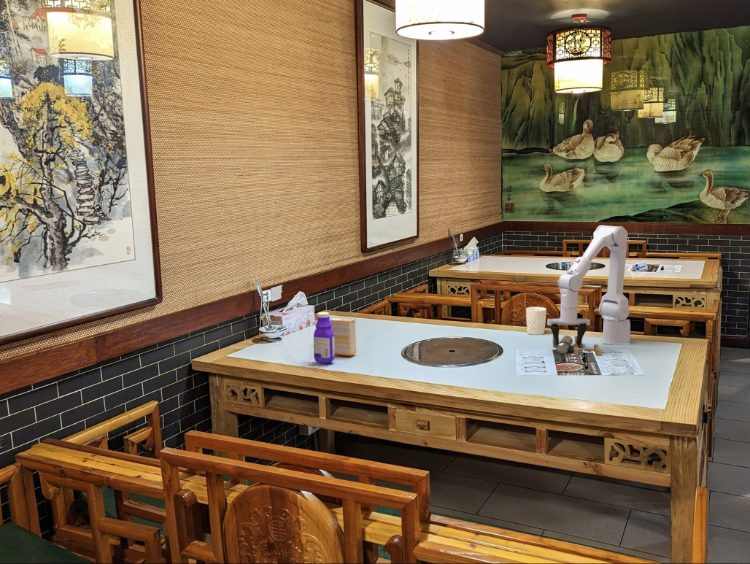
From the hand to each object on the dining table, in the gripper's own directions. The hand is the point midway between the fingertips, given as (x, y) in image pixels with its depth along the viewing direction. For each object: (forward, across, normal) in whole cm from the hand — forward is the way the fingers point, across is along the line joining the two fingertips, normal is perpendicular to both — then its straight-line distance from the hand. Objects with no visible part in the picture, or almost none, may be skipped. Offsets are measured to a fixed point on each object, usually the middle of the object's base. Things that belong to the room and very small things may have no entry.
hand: (567, 344), depth 240 cm
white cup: (+3, +4, -30) cm, 31 cm away
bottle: (+4, +87, +5) cm, 87 cm away
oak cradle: (+3, -6, +3) cm, 7 cm away
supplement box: (+4, +80, -5) cm, 81 cm away
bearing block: (+3, -2, -8) cm, 9 cm away
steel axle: (+2, -1, -2) cm, 4 cm away
